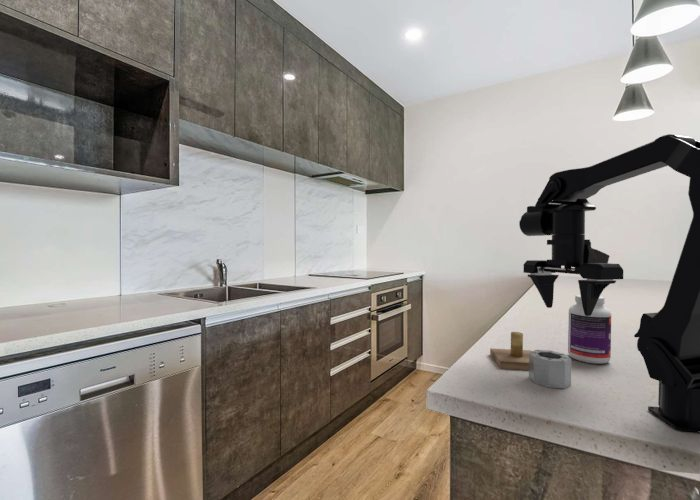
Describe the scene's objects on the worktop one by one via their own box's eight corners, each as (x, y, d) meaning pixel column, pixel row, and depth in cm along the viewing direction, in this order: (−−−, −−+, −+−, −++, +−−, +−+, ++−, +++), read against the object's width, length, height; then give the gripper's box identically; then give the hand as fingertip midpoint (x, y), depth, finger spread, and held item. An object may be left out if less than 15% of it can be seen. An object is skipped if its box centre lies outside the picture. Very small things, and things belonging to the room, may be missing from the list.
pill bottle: (618, 366, 75) (619, 300, 75) (576, 364, 77) (578, 298, 77) (599, 354, 83) (601, 294, 83) (562, 352, 85) (563, 293, 84)
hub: (575, 389, 64) (576, 362, 64) (537, 386, 65) (537, 359, 65) (560, 375, 70) (560, 350, 70) (525, 373, 71) (525, 349, 71)
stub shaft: (546, 371, 73) (546, 339, 72) (500, 368, 74) (500, 337, 74) (530, 356, 81) (531, 329, 81) (490, 354, 83) (490, 327, 83)
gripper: (647, 233, 64) (646, 318, 65) (562, 236, 82) (561, 302, 83) (598, 232, 62) (598, 321, 62) (521, 236, 80) (521, 304, 80)
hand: (567, 311), depth 72 cm, fingers open, 9 cm apart
